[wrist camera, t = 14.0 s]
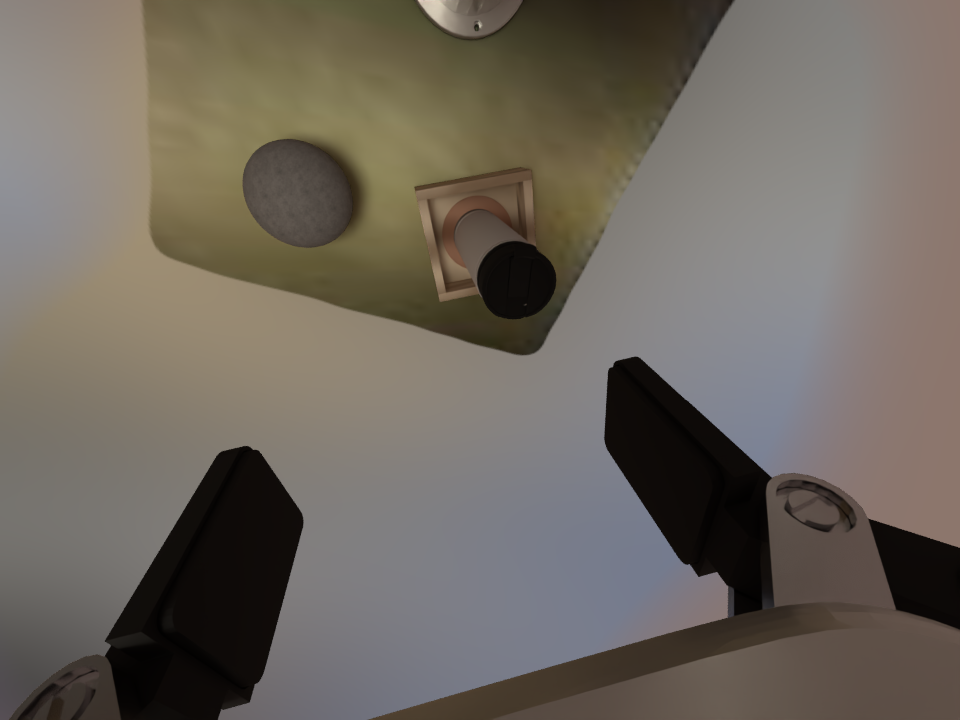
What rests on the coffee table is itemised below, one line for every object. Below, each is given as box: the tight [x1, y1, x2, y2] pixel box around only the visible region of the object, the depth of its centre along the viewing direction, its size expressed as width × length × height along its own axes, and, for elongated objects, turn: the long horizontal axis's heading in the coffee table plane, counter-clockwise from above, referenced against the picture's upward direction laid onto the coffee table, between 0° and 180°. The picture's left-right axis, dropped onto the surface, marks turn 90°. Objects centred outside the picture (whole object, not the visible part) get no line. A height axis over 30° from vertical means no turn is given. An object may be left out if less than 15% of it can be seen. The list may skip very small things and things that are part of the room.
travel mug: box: [454, 209, 556, 319], centre depth 37 cm, size 6×7×20 cm
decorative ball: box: [243, 139, 353, 248], centre depth 37 cm, size 10×10×10 cm
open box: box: [415, 168, 536, 302], centre depth 44 cm, size 13×13×4 cm
